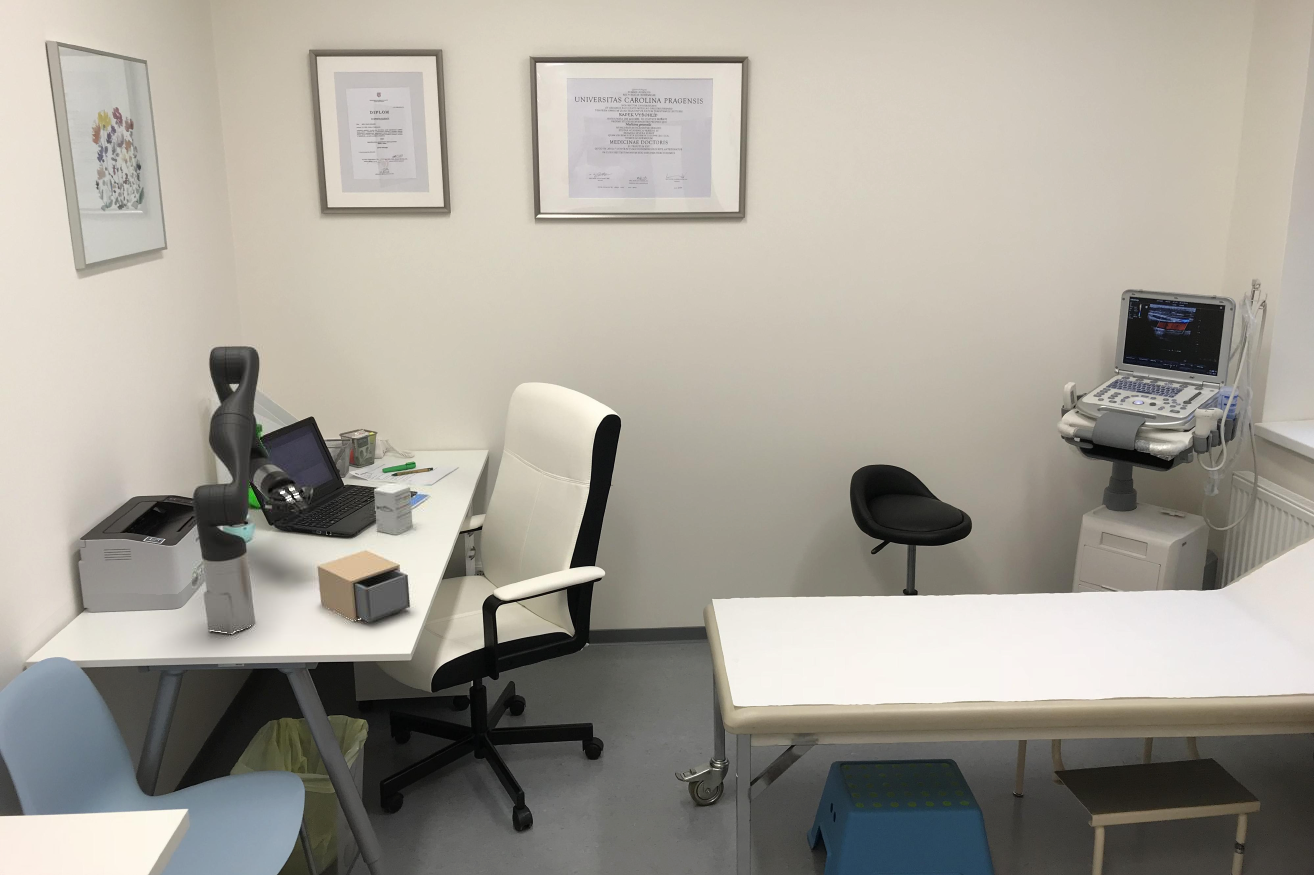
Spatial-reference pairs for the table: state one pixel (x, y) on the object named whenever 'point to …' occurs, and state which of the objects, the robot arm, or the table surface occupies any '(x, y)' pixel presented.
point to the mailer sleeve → (348, 579)
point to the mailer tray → (381, 595)
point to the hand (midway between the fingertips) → (304, 511)
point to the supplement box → (393, 508)
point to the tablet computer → (418, 499)
